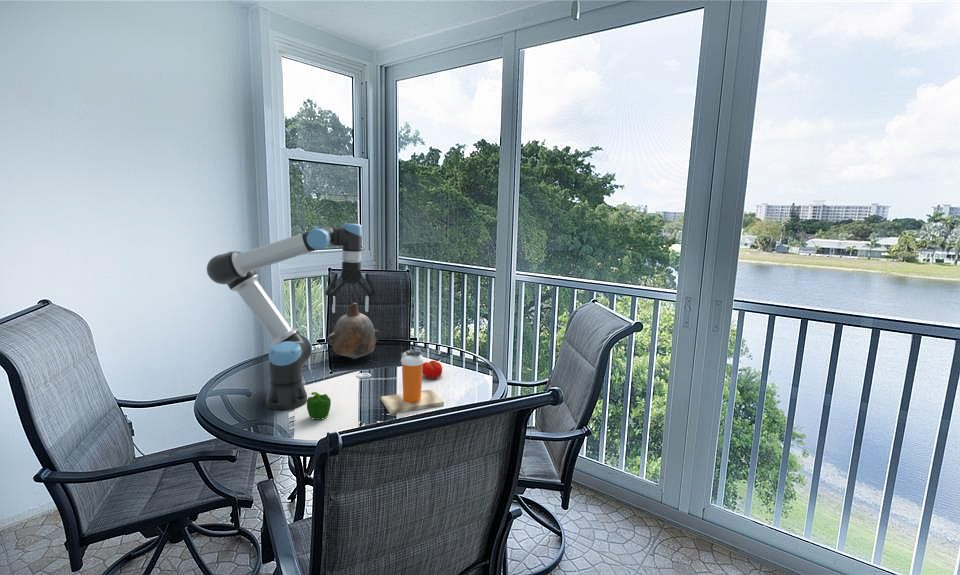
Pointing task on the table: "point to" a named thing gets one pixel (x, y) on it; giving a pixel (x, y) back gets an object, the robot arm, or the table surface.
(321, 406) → the bell pepper
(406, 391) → the shaker bottle
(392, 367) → the table surface
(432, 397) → the oak board
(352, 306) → the jug
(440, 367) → the tomato
